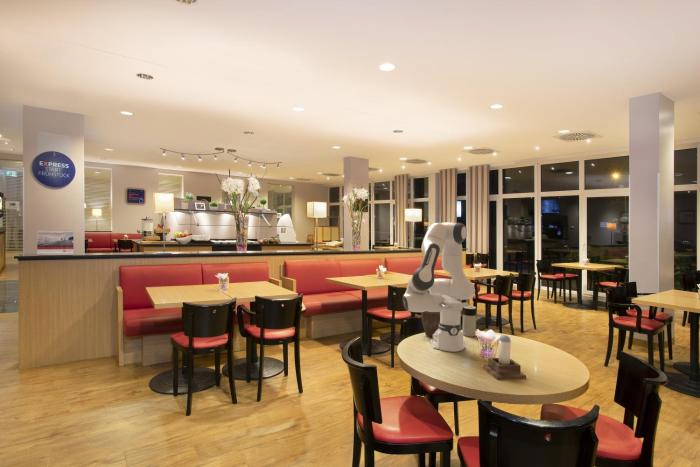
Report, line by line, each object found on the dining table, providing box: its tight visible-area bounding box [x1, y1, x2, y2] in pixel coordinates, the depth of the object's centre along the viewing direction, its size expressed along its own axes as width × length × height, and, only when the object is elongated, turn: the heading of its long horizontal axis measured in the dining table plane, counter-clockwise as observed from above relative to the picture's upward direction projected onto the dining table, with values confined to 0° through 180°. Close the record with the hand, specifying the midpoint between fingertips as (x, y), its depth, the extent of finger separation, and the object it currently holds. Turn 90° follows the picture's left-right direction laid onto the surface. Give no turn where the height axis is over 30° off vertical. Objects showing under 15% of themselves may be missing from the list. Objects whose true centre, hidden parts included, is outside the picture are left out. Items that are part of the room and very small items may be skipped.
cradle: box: [482, 357, 527, 381], centre depth 184 cm, size 14×14×6 cm
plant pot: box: [420, 311, 440, 338], centre depth 244 cm, size 15×15×16 cm
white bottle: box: [498, 334, 512, 365], centre depth 184 cm, size 5×5×16 cm
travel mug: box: [461, 305, 477, 338], centre depth 247 cm, size 8×8×18 cm
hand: (464, 302), depth 189 cm, fingers open, 8 cm apart
